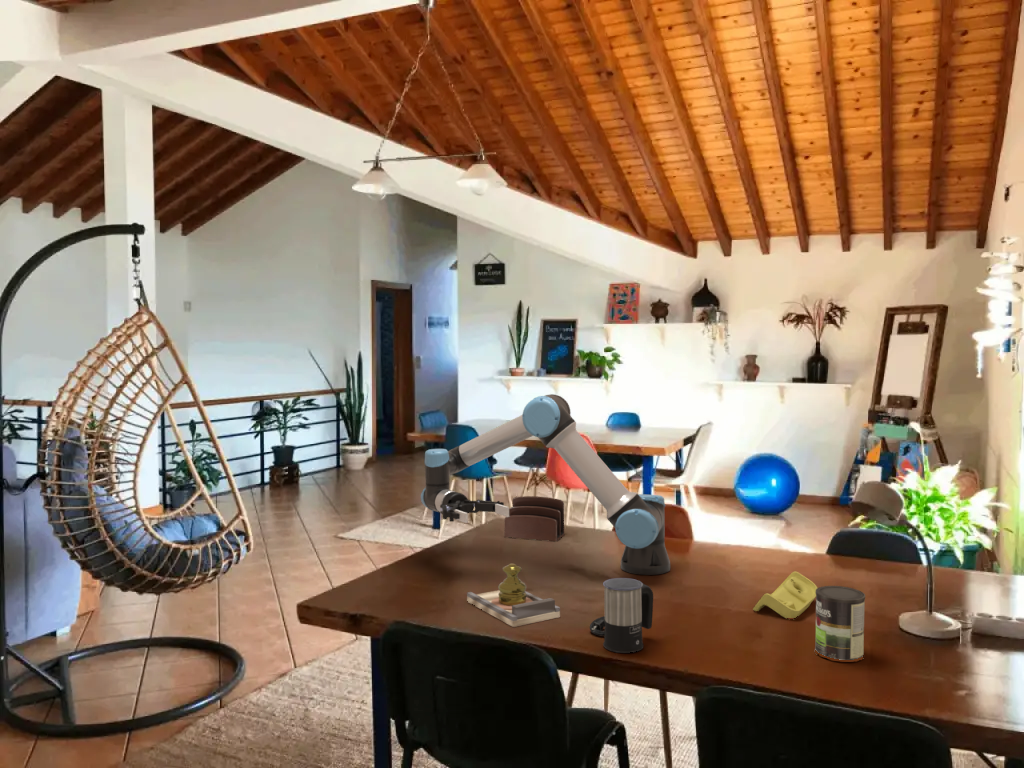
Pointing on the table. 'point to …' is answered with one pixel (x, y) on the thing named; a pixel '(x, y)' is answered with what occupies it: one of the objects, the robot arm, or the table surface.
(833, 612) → the coffee can
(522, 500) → the letter holder
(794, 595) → the plastic component
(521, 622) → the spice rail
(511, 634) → the table surface
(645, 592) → the milk frother
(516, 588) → the gold chess piece
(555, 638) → the table surface
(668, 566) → the robot arm
